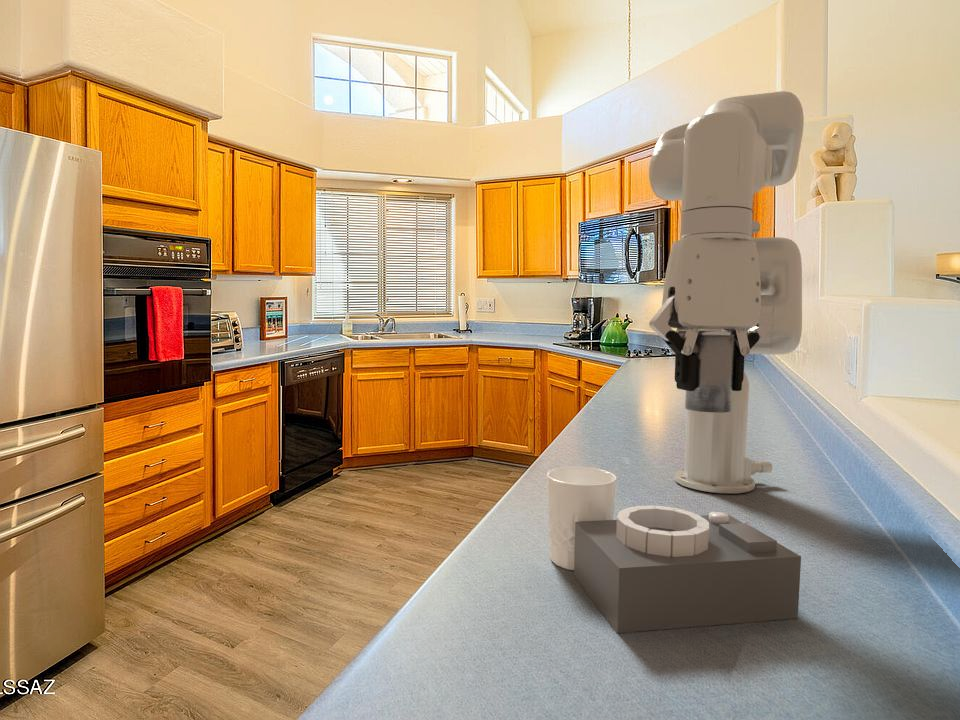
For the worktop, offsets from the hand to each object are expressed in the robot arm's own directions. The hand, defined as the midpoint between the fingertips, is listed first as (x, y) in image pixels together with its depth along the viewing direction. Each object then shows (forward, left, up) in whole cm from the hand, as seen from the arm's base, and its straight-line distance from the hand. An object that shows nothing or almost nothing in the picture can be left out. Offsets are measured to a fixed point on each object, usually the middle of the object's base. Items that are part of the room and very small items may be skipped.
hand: (708, 388), depth 70 cm
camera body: (+7, +9, -20) cm, 23 cm away
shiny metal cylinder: (0, 0, -2) cm, 2 cm away
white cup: (+14, -1, -20) cm, 25 cm away
